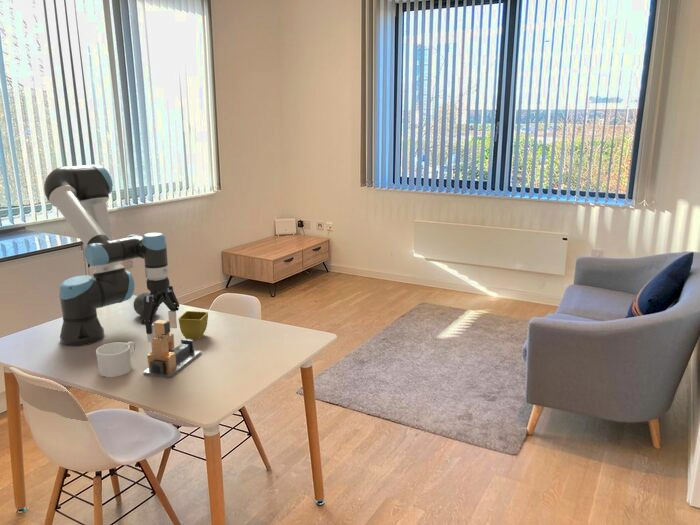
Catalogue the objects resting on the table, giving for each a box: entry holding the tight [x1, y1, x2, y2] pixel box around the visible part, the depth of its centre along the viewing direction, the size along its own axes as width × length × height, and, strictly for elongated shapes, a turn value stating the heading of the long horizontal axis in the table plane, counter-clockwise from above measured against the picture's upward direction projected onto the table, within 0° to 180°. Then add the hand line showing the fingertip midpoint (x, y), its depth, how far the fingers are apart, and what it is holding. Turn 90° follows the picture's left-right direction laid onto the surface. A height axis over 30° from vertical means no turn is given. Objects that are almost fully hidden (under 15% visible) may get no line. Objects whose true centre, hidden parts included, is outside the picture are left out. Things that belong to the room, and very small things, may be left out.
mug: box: [95, 341, 136, 378], centre depth 189 cm, size 13×10×8 cm
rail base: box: [142, 334, 202, 379], centre depth 193 cm, size 10×20×12 cm, turn 165°
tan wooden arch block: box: [150, 319, 175, 352], centre depth 203 cm, size 8×5×12 cm, turn 165°
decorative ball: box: [133, 292, 159, 317], centre depth 237 cm, size 10×10×10 cm
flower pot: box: [178, 310, 209, 340], centre depth 216 cm, size 9×9×9 cm
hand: (162, 334), depth 202 cm, fingers open, 13 cm apart
